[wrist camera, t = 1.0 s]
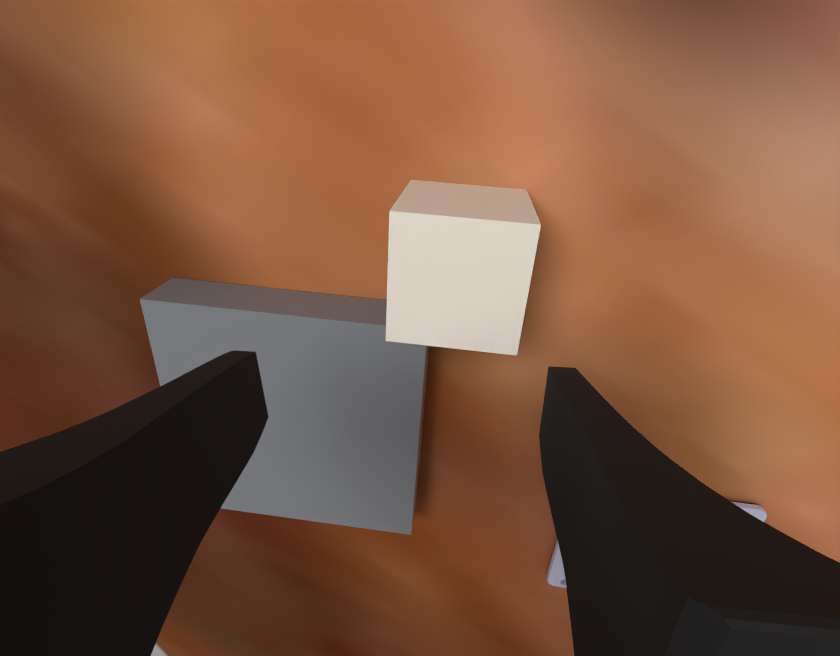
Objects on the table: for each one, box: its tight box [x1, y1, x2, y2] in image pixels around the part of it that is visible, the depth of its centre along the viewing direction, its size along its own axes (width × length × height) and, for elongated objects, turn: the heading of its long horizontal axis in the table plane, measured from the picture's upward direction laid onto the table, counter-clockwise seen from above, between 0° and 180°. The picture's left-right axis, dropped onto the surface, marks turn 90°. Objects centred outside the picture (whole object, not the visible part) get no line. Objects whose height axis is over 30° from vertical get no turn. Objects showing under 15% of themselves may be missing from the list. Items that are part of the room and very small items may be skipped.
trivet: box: [140, 278, 429, 535], centre depth 23 cm, size 12×12×2 cm
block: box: [386, 180, 541, 355], centre depth 17 cm, size 4×4×5 cm
